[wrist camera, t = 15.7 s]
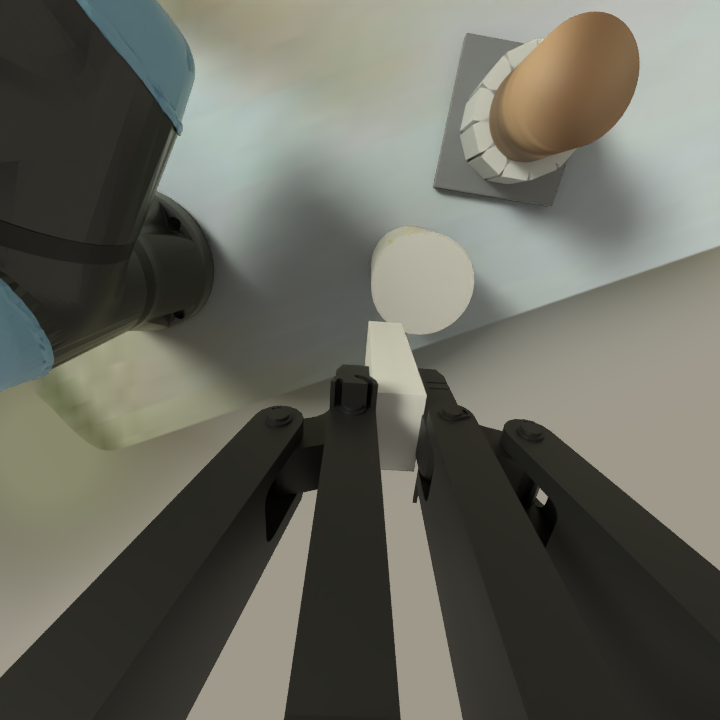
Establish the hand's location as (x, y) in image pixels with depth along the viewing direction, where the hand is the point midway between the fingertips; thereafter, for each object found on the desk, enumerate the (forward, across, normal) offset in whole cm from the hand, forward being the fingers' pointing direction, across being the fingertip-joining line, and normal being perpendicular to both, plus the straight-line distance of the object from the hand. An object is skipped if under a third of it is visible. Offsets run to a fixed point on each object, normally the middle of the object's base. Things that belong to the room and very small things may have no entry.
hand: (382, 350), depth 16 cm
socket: (+25, +12, +14) cm, 31 cm away
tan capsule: (+23, +12, +14) cm, 30 cm away
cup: (+25, +4, 0) cm, 25 cm away
